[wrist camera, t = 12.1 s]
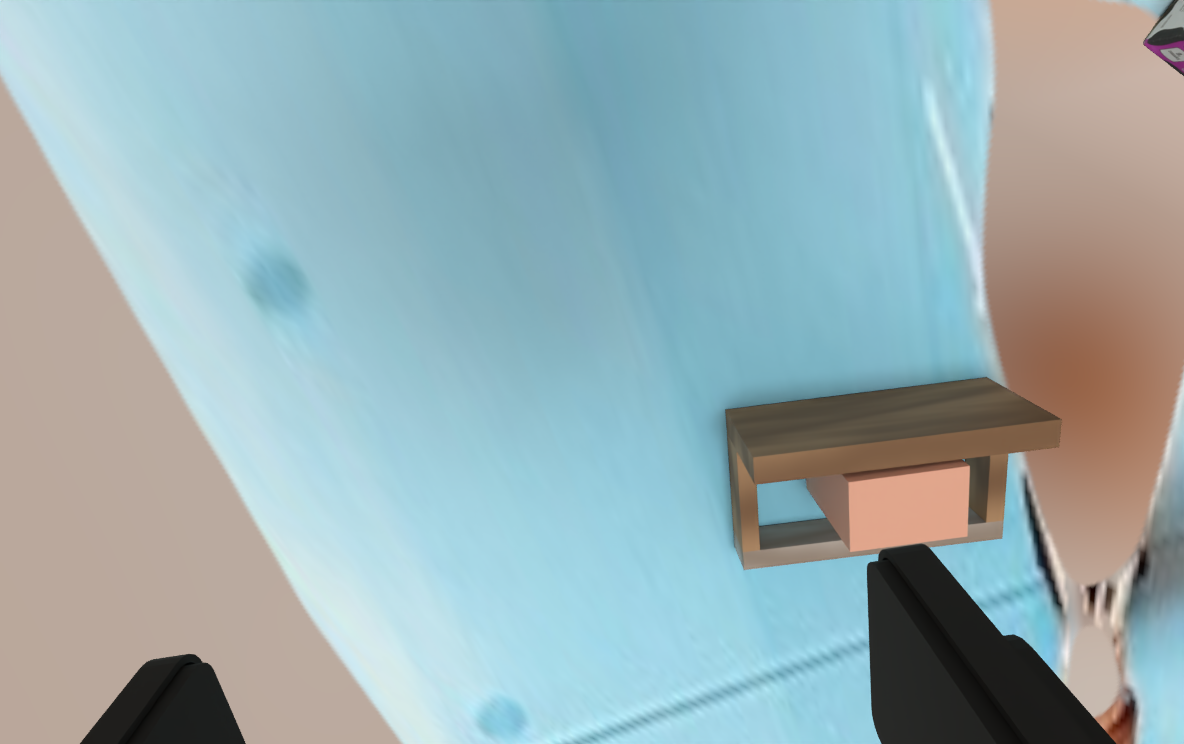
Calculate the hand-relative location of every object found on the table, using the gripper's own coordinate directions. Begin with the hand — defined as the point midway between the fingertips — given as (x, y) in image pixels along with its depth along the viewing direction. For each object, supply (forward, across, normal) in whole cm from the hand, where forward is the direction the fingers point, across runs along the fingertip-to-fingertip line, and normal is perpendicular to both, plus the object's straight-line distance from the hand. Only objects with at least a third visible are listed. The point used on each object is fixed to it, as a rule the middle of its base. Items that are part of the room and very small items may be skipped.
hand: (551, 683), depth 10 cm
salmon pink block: (+29, -15, +14) cm, 36 cm away
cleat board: (+29, -15, +15) cm, 36 cm away
